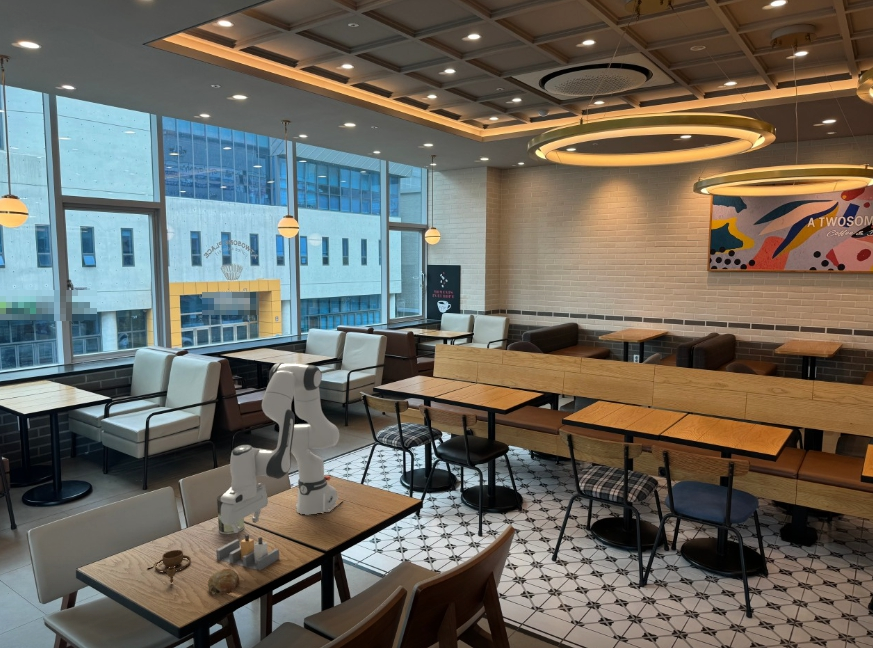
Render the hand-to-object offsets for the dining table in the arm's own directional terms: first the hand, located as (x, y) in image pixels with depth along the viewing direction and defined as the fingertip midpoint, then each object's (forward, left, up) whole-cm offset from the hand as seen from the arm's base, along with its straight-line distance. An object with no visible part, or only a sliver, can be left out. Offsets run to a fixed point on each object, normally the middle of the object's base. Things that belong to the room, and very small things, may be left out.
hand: (246, 526), depth 224 cm
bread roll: (+18, +7, -13) cm, 23 cm away
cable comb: (0, 0, -13) cm, 13 cm away
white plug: (0, +7, -12) cm, 14 cm away
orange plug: (0, 0, -12) cm, 12 cm away
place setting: (+18, -21, -14) cm, 31 cm away
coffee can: (-19, -27, -13) cm, 35 cm away
